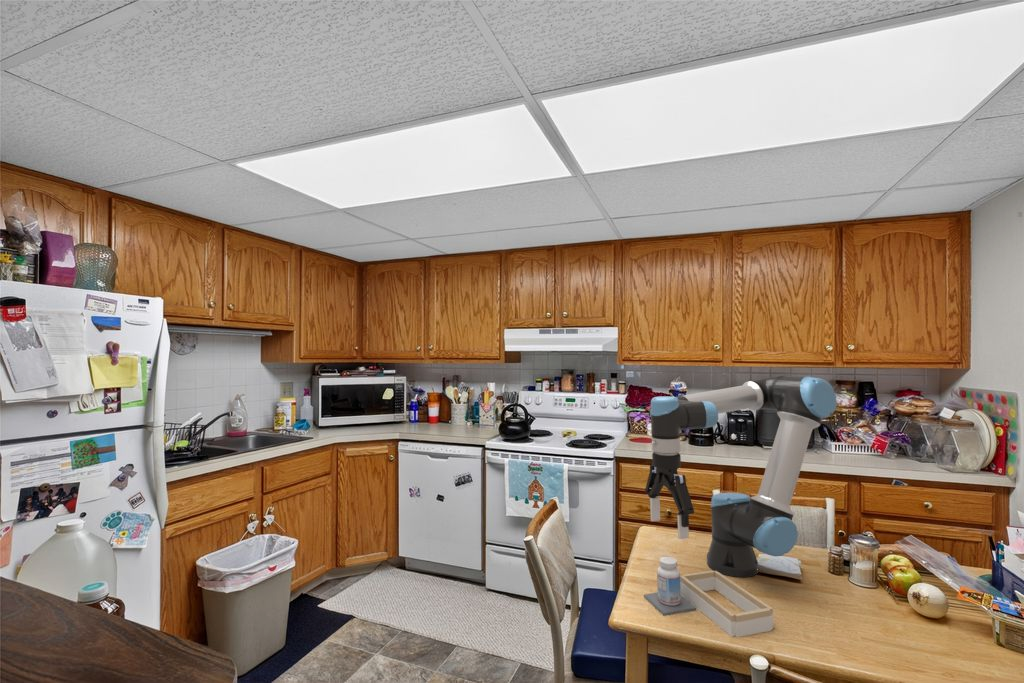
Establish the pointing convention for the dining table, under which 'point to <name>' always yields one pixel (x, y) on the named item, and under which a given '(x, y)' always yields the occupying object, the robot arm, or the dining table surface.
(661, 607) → the coaster
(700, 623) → the dining table surface
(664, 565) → the pill bottle
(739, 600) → the beige frame
